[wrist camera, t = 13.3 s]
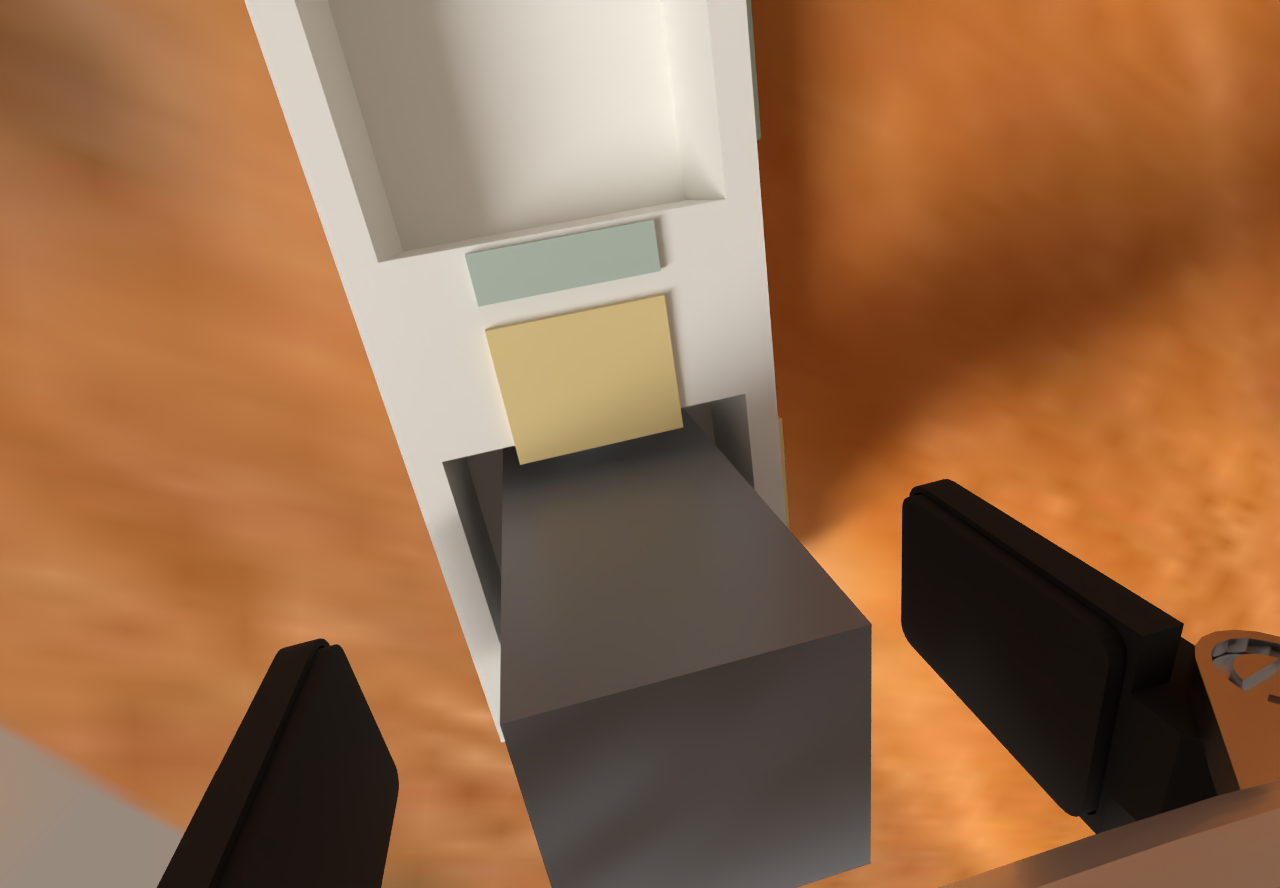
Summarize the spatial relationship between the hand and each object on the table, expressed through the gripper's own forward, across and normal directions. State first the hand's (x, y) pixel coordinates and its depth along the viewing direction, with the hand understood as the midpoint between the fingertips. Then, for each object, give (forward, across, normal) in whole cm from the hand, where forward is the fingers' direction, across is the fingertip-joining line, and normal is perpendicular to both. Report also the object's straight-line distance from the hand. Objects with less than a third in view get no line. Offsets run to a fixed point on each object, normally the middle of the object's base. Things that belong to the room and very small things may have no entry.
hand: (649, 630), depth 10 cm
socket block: (+6, 0, -4) cm, 7 cm away
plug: (+5, 0, 0) cm, 5 cm away
